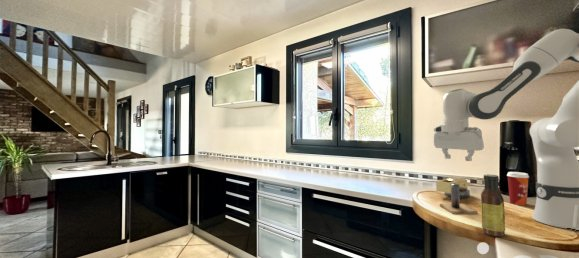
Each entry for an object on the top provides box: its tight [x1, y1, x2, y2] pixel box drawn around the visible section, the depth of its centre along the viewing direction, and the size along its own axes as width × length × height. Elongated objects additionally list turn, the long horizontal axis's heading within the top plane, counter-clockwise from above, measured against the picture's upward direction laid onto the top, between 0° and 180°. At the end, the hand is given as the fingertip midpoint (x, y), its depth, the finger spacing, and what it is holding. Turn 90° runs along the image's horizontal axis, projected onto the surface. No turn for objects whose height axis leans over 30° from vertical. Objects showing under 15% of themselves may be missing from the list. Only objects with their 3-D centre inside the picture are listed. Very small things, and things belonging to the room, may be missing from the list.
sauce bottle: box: [480, 173, 506, 237], centre depth 86 cm, size 7×6×20 cm
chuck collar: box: [435, 177, 468, 194], centre depth 129 cm, size 16×9×5 cm, turn 117°
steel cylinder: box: [450, 184, 461, 208], centre depth 110 cm, size 3×3×10 cm
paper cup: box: [506, 171, 530, 206], centre depth 116 cm, size 8×8×14 cm
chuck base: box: [443, 188, 471, 199], centre depth 131 cm, size 11×11×3 cm
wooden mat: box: [439, 203, 478, 215], centre depth 110 cm, size 10×10×1 cm
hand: (457, 159), depth 108 cm, fingers open, 8 cm apart
